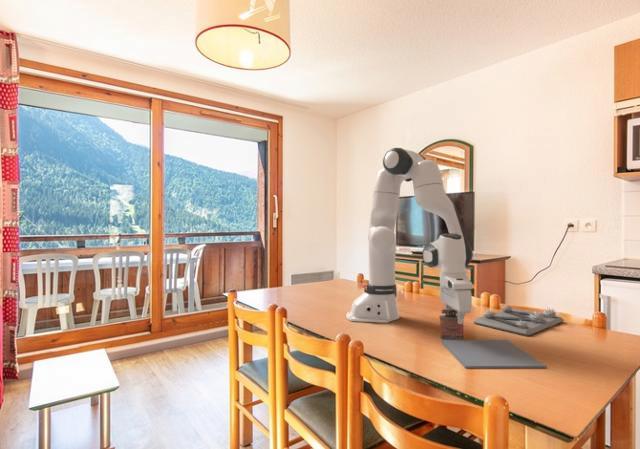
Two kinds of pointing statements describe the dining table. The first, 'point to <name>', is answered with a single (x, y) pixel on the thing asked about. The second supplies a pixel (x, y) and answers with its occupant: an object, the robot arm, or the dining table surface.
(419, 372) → the dining table surface
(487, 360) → the mat
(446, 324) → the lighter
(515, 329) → the grey spiked board
